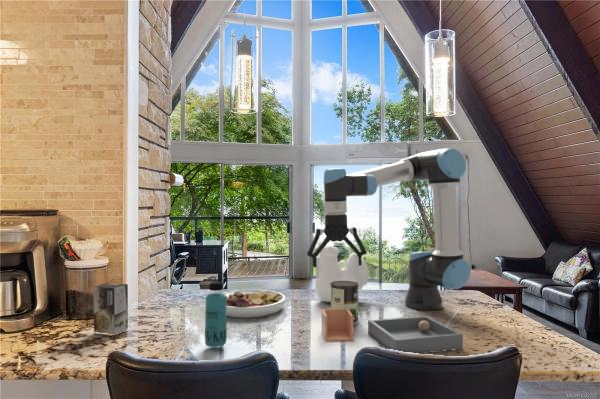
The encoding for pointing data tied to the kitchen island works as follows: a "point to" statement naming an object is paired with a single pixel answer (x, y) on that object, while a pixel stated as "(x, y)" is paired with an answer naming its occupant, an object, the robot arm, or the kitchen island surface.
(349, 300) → the coffee can
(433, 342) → the tray
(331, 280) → the decorative rooster
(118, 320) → the coffee box
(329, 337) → the open brown box
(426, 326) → the ball
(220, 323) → the beverage bottle
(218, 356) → the kitchen island surface
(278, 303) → the bowl
